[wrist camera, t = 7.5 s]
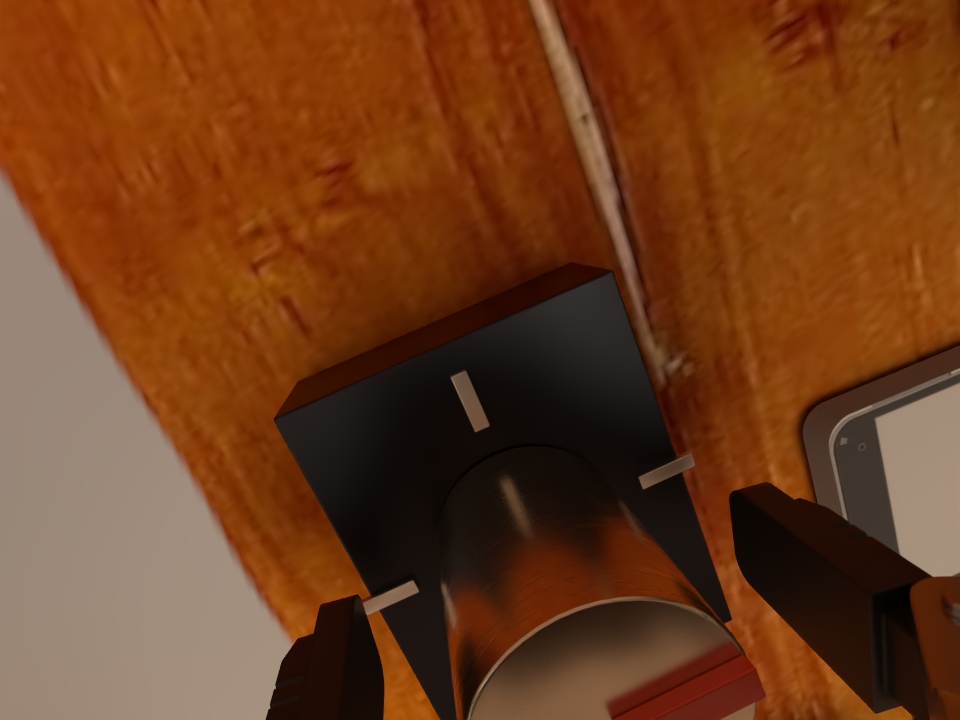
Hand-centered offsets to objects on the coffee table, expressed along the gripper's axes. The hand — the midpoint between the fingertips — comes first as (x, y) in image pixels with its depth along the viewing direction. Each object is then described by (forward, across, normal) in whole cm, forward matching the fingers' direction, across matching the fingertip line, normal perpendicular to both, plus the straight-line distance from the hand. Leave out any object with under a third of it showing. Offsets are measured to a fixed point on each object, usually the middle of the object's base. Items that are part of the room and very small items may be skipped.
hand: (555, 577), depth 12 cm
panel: (+5, 0, 0) cm, 5 cm away
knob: (+2, 0, 0) cm, 2 cm away
